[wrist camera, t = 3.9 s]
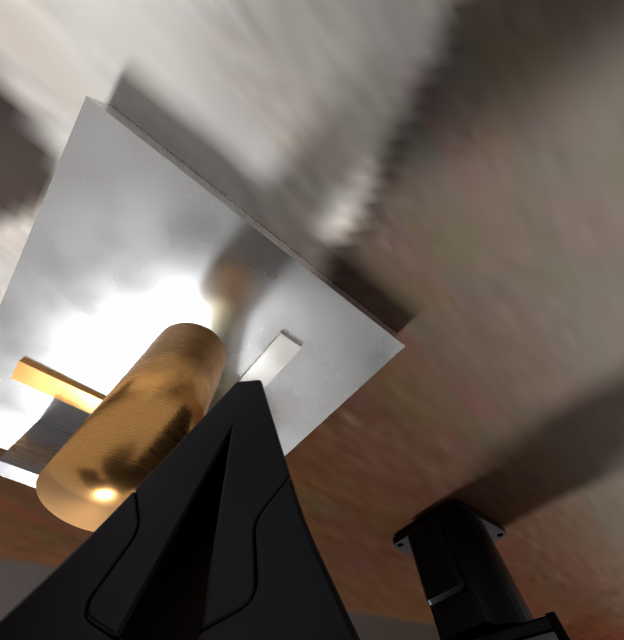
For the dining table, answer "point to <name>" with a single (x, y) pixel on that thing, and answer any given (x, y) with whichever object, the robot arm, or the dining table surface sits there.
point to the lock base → (162, 297)
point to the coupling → (134, 426)
